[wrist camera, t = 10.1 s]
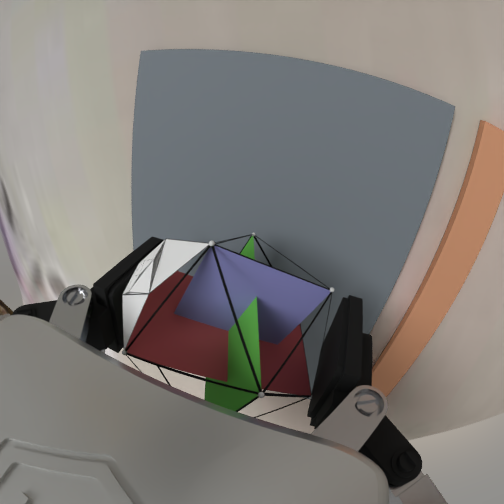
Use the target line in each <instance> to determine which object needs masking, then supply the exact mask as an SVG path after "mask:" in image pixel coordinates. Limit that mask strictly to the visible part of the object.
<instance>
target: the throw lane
mask: <svg viewBox="0 0 504 504" xmlns="http://www.w3.org/2000/svg"><path fill="white" fill-rule="evenodd" d="M454 110H455V106H453V105H451V104H448V103H446V102H444V101H442V100H439V99H437V98H434V97H432V96H430V95H427V94H424V93H422V92H419V91H417V90H414V89H411V88H409V87H406V86H403V85H400V84H397V83H394V82H391V81H388V80H385V79H382V78H378V77H375V76H372V75H368V74H365V73H361V72H357V71H354V70H350V69H346V68H342V67H337V66H333V65H329V64H324V63H319V62H314V61H309V60H303V59H298V58H292V57H285V56H278V55H271V54H262V53H253V52H242V51H228V50H207V49H169V50H148V51H141V54H140V61H139V69H138V78H137V87H136V97H135V109H134V123H133V142H132V230H133V249H134V250H135V249H137V248H138V247H139V246H140V245H142V244H143V243H144V242H145V241H147V240H148V239H149V238H151V237H156V238H160V239H163V240H165V239H166V238H168V239H177V240H187V241H196V242H206V243H209V242H210V241H214V243H215V242H218V243H220V242H219V241H223V243H220V244H216V243H215V244H216V245H219V246H221V247H224V248H226V249H229V250H231V251H234V252H237V253H240V252H241V250H242V249H243V247H244V246H245V244H246V243H247V241H248V239H249V238H250V236H251V234H252V233H255V234H256V236H257V237H258V238H257V237H256V236H255V237H256V238H257V240H258V242H259V244H260V245H261V247H262V249H263V251H264V252H265V254H266V256H267V258H268V259H269V261H270V263H271V265H272V266H273V267H275V268H277V269H280V270H282V271H285V272H287V273H290V274H293V275H295V276H298V277H300V278H303V279H305V280H308V281H310V282H313V283H316V284H318V285H321V286H323V287H326V286H327V287H329V288H331V287H332V288H334V292H332V298H331V295H330V297H329V299H328V300H327V302H326V303H325V305H324V307H323V308H322V310H321V311H320V313H319V314H318V316H317V318H316V319H315V321H314V322H313V324H312V325H311V327H310V328H309V330H308V331H307V333H306V334H305V336H304V337H303V342H304V348H305V355H306V361H307V367H308V374H309V381H310V387H311V393H312V389H313V384H314V380H315V376H316V371H317V367H318V361H319V356H320V351H321V347H322V343H323V342H324V341H323V338H324V339H325V337H326V335H327V333H328V331H329V328H330V326H331V324H332V322H333V319H334V317H335V315H336V312H337V310H338V308H339V305H340V303H341V300H342V298H343V297H345V298H348V296H349V295H351V296H355V297H358V298H362V299H363V333H366V334H370V332H371V330H372V328H373V326H374V324H375V322H376V321H377V319H378V317H379V315H380V313H381V311H382V309H383V307H384V305H385V303H386V301H387V299H388V297H389V295H390V293H391V291H392V289H393V287H394V285H395V282H396V280H397V278H398V276H399V274H400V272H401V269H402V267H403V265H404V263H405V260H406V258H407V256H408V253H409V251H410V249H411V246H412V244H413V241H414V239H415V236H416V234H417V231H418V229H419V226H420V224H421V221H422V218H423V216H424V213H425V210H426V207H427V205H428V202H429V199H430V196H431V193H432V190H433V187H434V184H435V181H436V178H437V175H438V171H439V168H440V165H441V161H442V158H443V154H444V151H445V147H446V143H447V139H448V136H449V132H450V127H451V123H452V119H453V114H454ZM503 192H504V131H502V130H501V129H499V128H497V127H495V126H493V125H492V124H490V123H488V122H486V121H482V120H480V125H479V129H478V133H477V137H476V141H475V145H474V149H473V152H472V156H471V160H470V163H469V166H468V170H467V173H466V176H465V179H464V182H463V185H462V188H461V191H460V194H459V197H458V200H457V203H456V205H455V208H454V211H453V213H452V216H451V219H450V221H449V224H448V226H447V229H446V231H445V234H444V236H443V238H442V241H441V243H440V245H439V248H438V250H437V252H436V254H435V257H434V259H433V261H432V263H431V265H430V267H429V269H428V271H427V274H426V276H425V278H424V280H423V282H422V284H421V286H420V288H419V290H418V292H417V293H416V295H415V297H414V299H413V301H412V303H411V305H410V307H409V308H408V310H407V312H406V314H405V316H404V317H403V319H402V321H401V323H400V324H399V326H398V328H397V329H396V331H395V333H394V334H393V336H392V338H391V339H390V341H389V343H388V344H387V346H386V348H385V349H384V351H383V352H382V354H381V355H380V357H379V358H378V360H377V362H376V363H375V365H374V366H373V368H372V386H373V387H375V388H377V389H379V390H380V391H381V392H382V393H383V394H384V395H385V397H387V396H388V394H389V393H390V392H391V391H392V390H393V388H394V387H395V386H396V385H397V383H398V382H399V381H400V380H401V378H402V377H403V376H404V374H405V373H406V372H407V371H408V369H409V368H410V367H411V365H412V364H413V363H414V361H415V360H416V358H417V357H418V356H419V354H420V353H421V351H422V350H423V349H424V347H425V346H426V344H427V343H428V341H429V340H430V338H431V337H432V335H433V334H434V332H435V331H436V329H437V328H438V326H439V325H440V323H441V321H442V320H443V318H444V317H445V315H446V313H447V312H448V310H449V308H450V307H451V305H452V303H453V302H454V300H455V298H456V296H457V295H458V293H459V291H460V289H461V287H462V285H463V284H464V282H465V280H466V278H467V276H468V274H469V272H470V270H471V268H472V266H473V264H474V262H475V260H476V258H477V256H478V254H479V252H480V250H481V247H482V245H483V243H484V241H485V239H486V236H487V234H488V232H489V229H490V227H491V224H492V222H493V219H494V217H495V214H496V212H497V209H498V206H499V204H500V201H501V198H502V195H503ZM246 235H250V236H247V237H243V238H239V239H235V240H231V241H228V239H233V238H237V237H241V236H246ZM253 238H254V237H253ZM259 238H260V239H261V240H263V241H264V242H266V243H267V244H268V245H270V246H271V247H273V248H274V249H275V250H274V249H273V248H271V247H270V246H268V245H267V244H266V243H264V242H263V241H261V240H260V239H259ZM224 240H227V242H224ZM206 248H207V247H206ZM206 248H205V249H206ZM205 249H204V250H203V251H201V252H200V253H199V254H198V255H196V256H195V257H194V258H193V259H191V260H190V261H189V262H188V263H186V264H185V265H184V266H183V267H181V268H180V269H179V270H178V271H179V272H182V273H185V274H186V272H187V271H188V270H189V269H190V268H191V266H192V265H193V264H194V263H195V261H196V260H197V259H198V258H199V257H200V255H201V254H202V253H203V252H204V251H205ZM276 250H277V251H278V252H280V253H281V254H282V255H281V254H280V253H278V252H277V251H276ZM206 253H207V252H206ZM206 253H205V254H204V255H203V257H202V258H201V259H200V260H199V261H198V263H197V264H196V265H195V266H194V268H193V269H192V270H191V271H190V272H189V274H188V275H190V276H194V275H195V273H196V271H197V269H198V267H199V265H200V264H201V262H202V260H203V258H204V256H205V255H206ZM283 255H284V256H285V257H287V258H288V259H289V260H288V259H287V258H285V257H284V256H283ZM254 256H255V260H257V261H259V262H262V263H264V264H267V265H269V263H268V261H267V260H266V258H265V256H264V254H263V253H262V251H261V249H260V247H259V246H258V244H257V242H256V241H255V239H254ZM290 260H291V261H292V262H294V263H295V264H297V265H298V266H299V267H301V268H302V269H304V270H305V271H306V272H308V273H309V274H310V275H312V276H313V277H315V278H316V279H317V280H319V281H320V282H322V283H323V284H324V285H326V286H324V285H323V284H322V283H320V282H319V281H317V280H316V279H315V278H313V277H312V276H310V275H309V274H308V273H306V272H305V271H303V270H302V269H301V268H299V267H298V266H297V265H295V264H294V263H292V262H291V261H290ZM327 287H326V288H327ZM327 297H328V296H327ZM327 297H326V298H327ZM326 298H325V299H324V300H323V301H322V302H321V303H320V304H319V305H318V306H317V307H316V308H315V309H314V310H313V311H312V312H311V313H310V314H309V315H308V316H307V317H306V318H305V319H304V320H303V321H302V322H301V323H300V324H301V330H302V335H303V334H304V332H305V331H306V329H307V328H308V326H309V325H310V323H311V322H312V320H313V319H314V317H315V315H316V314H317V312H318V311H319V309H320V308H321V306H322V305H323V303H324V301H325V300H326ZM330 299H331V304H330ZM329 305H330V309H329ZM328 311H329V315H328ZM327 316H328V320H327ZM326 322H327V326H326ZM325 327H326V331H325ZM324 333H325V336H324ZM292 395H295V394H292ZM304 398H307V397H304ZM307 399H310V398H307Z"/></svg>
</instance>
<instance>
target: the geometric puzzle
mask: <svg viewBox="0 0 504 504" xmlns="http://www.w3.org/2000/svg"><path fill="white" fill-rule="evenodd" d="M247 236H250V235H246V236H241V237H237V238H233V239H228V241H231V240H235V239H239V238H243V237H247ZM255 236H256V234H255V233H252V234H251V236H250V238H249V239H248V241H247V243H246V244H245V246H244V247H243V249H242V250H241V252H240V253H237V252H234V251H231V250H229V249H226V248H224V247H221V246H219V245H216V244H220V243H223V241H219V242H220V243H218V242H215V243H216V244H215V243H214V241H210V242H209V243H206V242H196V241H187V240H177V239H168V238H166V239H165V240H164V241H163V242H162V243H161V244H159V245H158V246H157V247H156V248H155V249H154V250H153V251H152V252H151V253H150V254H149V255H147V256H146V257H145V258H144V259H143V260H142V261H141V262H140V263H139V264H138V266H137V268H136V270H135V271H134V273H133V275H132V277H131V279H130V281H129V283H128V285H127V287H126V289H125V291H124V293H123V295H122V316H123V343H124V350H123V351H122V354H123V355H126V356H127V355H129V356H132V357H134V358H137V359H140V360H142V361H145V362H148V363H151V364H153V365H156V366H157V367H158V368H159V367H162V368H165V369H168V370H171V371H174V372H177V373H180V374H183V375H187V376H190V377H193V378H196V379H200V380H203V381H206V384H205V400H206V401H208V402H211V403H213V404H216V405H219V406H221V407H224V408H227V409H230V410H233V411H235V412H238V411H240V410H241V409H243V408H244V407H246V406H247V405H249V404H250V403H251V402H253V401H254V400H256V399H257V398H259V397H260V398H263V397H264V396H281V397H307V398H310V399H311V398H312V393H311V387H310V381H309V374H308V367H307V361H306V355H305V348H304V342H303V337H304V336H305V334H306V333H307V331H308V330H309V328H310V327H311V325H312V324H313V322H314V321H315V319H316V318H317V316H318V314H319V313H320V311H321V310H322V308H323V307H324V305H325V303H326V302H327V300H328V299H329V297H330V295H331V298H332V292H334V288H332V287H331V288H329V287H327V286H326V285H324V284H323V283H322V282H320V281H319V280H317V279H316V278H315V277H313V276H312V275H310V274H309V273H308V272H306V271H305V270H304V269H302V268H301V267H299V266H298V265H297V264H295V263H294V262H292V261H291V260H290V261H291V262H292V263H294V264H295V265H297V266H298V267H299V268H301V269H302V270H303V271H305V272H306V273H308V274H309V275H310V276H312V277H313V278H315V279H316V280H317V281H319V282H320V283H322V284H323V285H324V286H326V287H327V288H326V287H323V286H321V285H318V284H316V283H313V282H310V281H308V280H305V279H303V278H300V277H298V276H295V275H293V274H290V273H287V272H285V271H282V270H280V269H277V268H275V267H273V266H272V265H271V263H270V261H269V259H268V258H267V256H266V254H265V252H264V251H263V249H262V247H261V245H260V244H259V242H258V240H257V238H258V237H257V236H256V237H257V238H256V237H255ZM253 237H254V238H253ZM254 239H255V241H256V242H257V244H258V246H259V247H260V249H261V251H262V253H263V254H264V256H265V258H266V260H267V261H268V263H269V265H267V264H264V263H262V262H259V261H257V260H255V256H254ZM259 239H260V238H259ZM260 240H261V239H260ZM261 241H263V240H261ZM224 242H227V240H224ZM263 242H264V241H263ZM264 243H266V242H264ZM266 244H267V243H266ZM267 245H268V244H267ZM268 246H270V245H268ZM206 247H207V248H206ZM270 247H271V246H270ZM205 248H206V249H205ZM271 248H273V247H271ZM204 249H205V251H204V252H203V253H202V254H201V255H200V257H199V258H198V259H197V260H196V261H195V263H194V264H193V265H192V266H191V268H190V269H189V270H188V271H187V272H186V274H185V273H182V272H179V271H178V270H179V269H180V268H181V267H183V266H184V265H185V264H186V263H188V262H189V261H190V260H191V259H193V258H194V257H195V256H196V255H198V254H199V253H200V252H201V251H203V250H204ZM273 249H274V248H273ZM274 250H275V249H274ZM276 251H277V250H276ZM206 252H207V253H206ZM277 252H278V251H277ZM205 253H206V255H205V256H204V258H203V260H202V262H201V264H200V265H199V267H198V269H197V271H196V273H195V275H194V276H190V275H188V274H189V272H190V271H191V270H192V269H193V268H194V266H195V265H196V264H197V263H198V261H199V260H200V259H201V258H202V257H203V255H204V254H205ZM278 253H280V252H278ZM280 254H281V253H280ZM281 255H282V254H281ZM283 256H284V255H283ZM284 257H285V256H284ZM285 258H287V257H285ZM287 259H288V258H287ZM288 260H289V259H288ZM327 296H328V297H327ZM326 297H327V298H326ZM325 298H326V300H325V301H324V303H323V305H322V306H321V308H320V309H319V311H318V312H317V314H316V315H315V317H314V319H313V320H312V322H311V323H310V325H309V326H308V328H307V329H306V331H305V332H304V334H303V335H302V330H301V324H300V323H301V322H302V321H303V320H304V319H305V318H306V317H307V316H308V315H309V314H310V313H311V312H312V311H313V310H314V309H315V308H316V307H317V306H318V305H319V304H320V303H321V302H322V301H323V300H324V299H325ZM330 304H331V299H330ZM329 309H330V305H329ZM328 315H329V311H328ZM327 320H328V316H327ZM326 326H327V322H326ZM325 331H326V327H325ZM324 336H325V333H324ZM323 341H324V338H323ZM322 346H323V343H322ZM321 351H322V348H321ZM320 356H321V353H320ZM127 357H128V356H127ZM128 358H129V357H128ZM129 359H130V358H129ZM130 360H131V359H130ZM319 361H320V357H319ZM132 363H133V362H132ZM133 364H134V363H133ZM134 365H135V364H134ZM163 365H164V366H163ZM318 365H319V362H318ZM135 366H136V365H135ZM166 366H167V367H166ZM136 367H137V366H136ZM169 367H170V368H169ZM137 368H138V367H137ZM172 368H174V369H172ZM138 369H139V368H138ZM175 369H178V370H181V371H185V372H188V373H192V374H196V375H200V376H204V377H206V379H205V378H201V377H198V376H194V375H191V374H188V373H185V372H181V371H178V370H175ZM159 370H160V372H161V373H162V371H161V369H160V368H159ZM317 370H318V367H317ZM139 371H140V370H139ZM140 372H141V371H140ZM316 374H317V371H316ZM162 375H163V376H164V374H163V373H162ZM164 378H165V380H166V381H167V383H168V384H169V382H168V380H167V379H166V377H165V376H164ZM315 379H316V376H315ZM314 383H315V380H314ZM169 385H170V384H169ZM170 386H171V385H170ZM313 387H314V384H313ZM262 389H264V390H263V391H262ZM266 390H270V391H276V392H282V393H288V394H274V393H264V392H265V391H266ZM312 392H313V389H312ZM290 394H295V395H290ZM307 398H305V399H307ZM305 399H302V400H305ZM302 400H300V401H302ZM300 401H297V402H300ZM297 402H295V403H297ZM295 403H292V404H295ZM292 404H290V405H292ZM287 406H289V405H287ZM287 406H284V407H287ZM284 407H282V408H284ZM279 409H281V408H279ZM279 409H276V410H279ZM276 410H273V411H276ZM273 411H271V412H273ZM271 412H268V413H271ZM268 413H265V414H268ZM265 414H262V415H265ZM262 415H259V416H262ZM259 416H256V417H259ZM256 417H253V418H256Z"/></svg>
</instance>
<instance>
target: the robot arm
mask: <svg viewBox="0 0 504 504" xmlns="http://www.w3.org/2000/svg"><path fill="white" fill-rule="evenodd" d="M163 241H164V240H163V239H160V238H156V237H151V238H149V239H148V240H147V241H145V242H144V243H143V244H142V245H140V246H139V247H138V248H137V249H135V250H134V251H133V252H132V253H130V254H129V255H128V256H127V257H125V258H124V259H123V260H122V261H120V262H119V263H118V264H117V265H116V266H114V267H113V268H112V269H111V270H110V271H108V272H107V273H106V274H105V275H104V276H102V277H101V278H100V279H99V280H98V281H97V282H95V283H94V284H93V286H94V287H92V288H91V289H89V288H88V287H86V286H84V285H72V286H69V287H67V288H65V289H64V290H63V291H62V292H61V293H60V295H59V297H58V300H56V301H49V302H42V303H35V304H28V305H23V306H21V307H19V308H17V309H16V310H15V311H14V312H13V314H12V315H10V314H4V315H0V504H448V503H447V502H446V501H445V499H444V498H443V496H442V495H441V493H440V492H439V490H438V489H437V487H436V486H435V485H434V483H433V482H432V480H431V479H430V477H429V476H428V475H427V474H426V475H423V473H422V472H421V469H422V460H421V456H420V455H419V454H418V452H417V451H416V450H415V448H414V447H413V446H412V445H411V444H410V443H409V442H408V440H407V439H406V438H405V437H404V436H403V435H402V434H401V433H400V431H399V430H398V429H397V428H396V427H395V426H394V425H393V423H392V422H391V421H390V420H389V419H388V418H387V417H386V412H387V410H388V402H387V399H386V397H385V395H384V394H383V393H382V392H381V391H380V390H379V389H377V388H375V387H373V386H372V336H371V335H369V334H366V333H363V299H362V298H358V297H355V296H351V295H349V296H348V298H345V297H343V298H342V300H341V303H340V305H339V308H338V310H337V312H336V315H335V317H334V319H333V322H332V324H331V326H330V328H329V331H328V333H327V335H326V337H325V339H324V342H323V346H322V347H321V348H322V351H320V353H321V356H319V357H320V361H318V362H319V365H318V370H317V374H316V379H315V383H314V387H313V392H312V398H311V401H310V405H309V410H308V414H307V416H308V417H311V423H310V425H311V426H315V428H314V429H315V430H314V431H313V432H312V433H311V434H308V433H304V432H300V431H296V430H293V429H289V428H286V427H282V426H279V425H276V424H273V423H269V422H266V421H263V420H260V419H257V418H253V417H250V416H247V415H244V414H241V413H238V412H235V411H233V410H230V409H227V408H224V407H221V406H219V405H216V404H213V403H211V402H208V401H206V400H203V399H201V398H198V397H196V396H193V395H191V394H188V393H186V392H183V391H181V390H179V389H176V388H174V387H172V386H170V385H167V384H165V383H163V382H161V381H158V380H156V379H154V378H152V377H150V376H148V375H146V374H144V373H142V372H139V371H137V370H135V369H133V368H131V367H129V366H127V365H125V364H124V363H122V362H120V361H118V360H116V359H114V358H112V357H110V356H108V355H106V354H105V349H107V348H110V349H112V350H113V351H115V352H117V353H118V352H119V351H120V350H121V349H122V348H124V343H123V316H122V295H123V293H124V291H125V289H126V287H127V285H128V283H129V281H130V279H131V277H132V275H133V273H134V271H135V270H136V268H137V266H138V264H139V263H140V262H141V261H142V260H143V259H144V258H145V257H146V256H147V255H149V254H150V253H151V252H152V251H153V250H154V249H155V248H156V247H157V246H158V245H159V244H161V243H162V242H163Z"/></svg>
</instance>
